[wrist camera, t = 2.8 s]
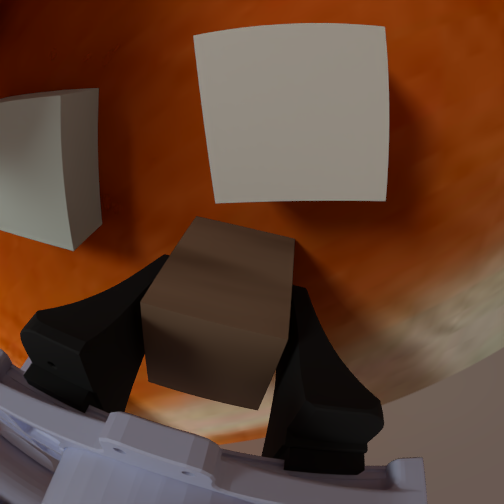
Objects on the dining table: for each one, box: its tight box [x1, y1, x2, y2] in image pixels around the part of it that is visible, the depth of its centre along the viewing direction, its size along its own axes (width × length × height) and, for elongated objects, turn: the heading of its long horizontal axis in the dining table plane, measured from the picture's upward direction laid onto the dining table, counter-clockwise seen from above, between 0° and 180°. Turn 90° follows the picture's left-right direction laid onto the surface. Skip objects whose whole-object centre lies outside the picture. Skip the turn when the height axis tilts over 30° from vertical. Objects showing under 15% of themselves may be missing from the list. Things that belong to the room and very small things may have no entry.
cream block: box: [193, 23, 389, 203], centre depth 9 cm, size 5×5×4 cm
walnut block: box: [140, 216, 295, 410], centre depth 13 cm, size 4×4×6 cm
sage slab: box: [0, 88, 102, 251], centre depth 12 cm, size 7×7×3 cm
